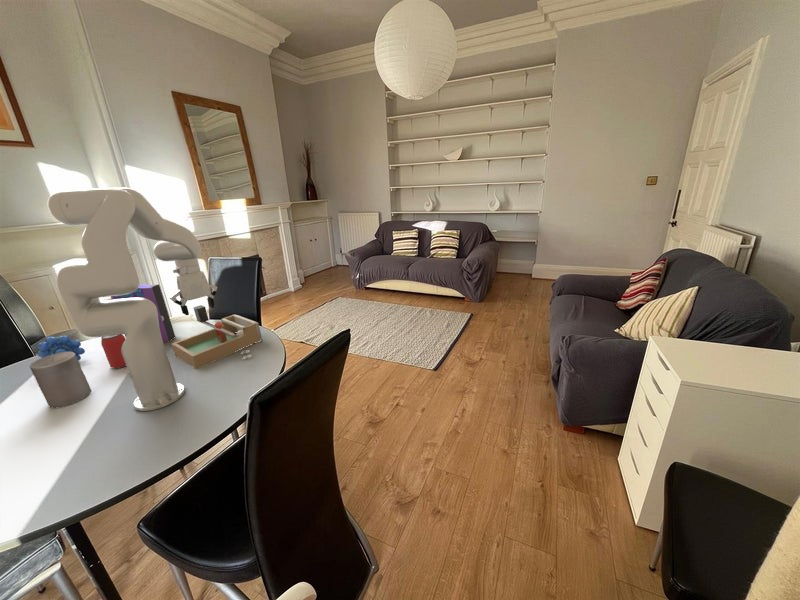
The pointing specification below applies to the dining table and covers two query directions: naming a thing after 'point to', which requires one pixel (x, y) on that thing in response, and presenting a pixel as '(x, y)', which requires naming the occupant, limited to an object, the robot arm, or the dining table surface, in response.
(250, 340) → the pitch
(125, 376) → the dining table surface
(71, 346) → the grapes
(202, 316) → the striker
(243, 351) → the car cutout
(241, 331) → the ball
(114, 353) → the beer can
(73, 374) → the pillar candle
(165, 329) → the cereal box
